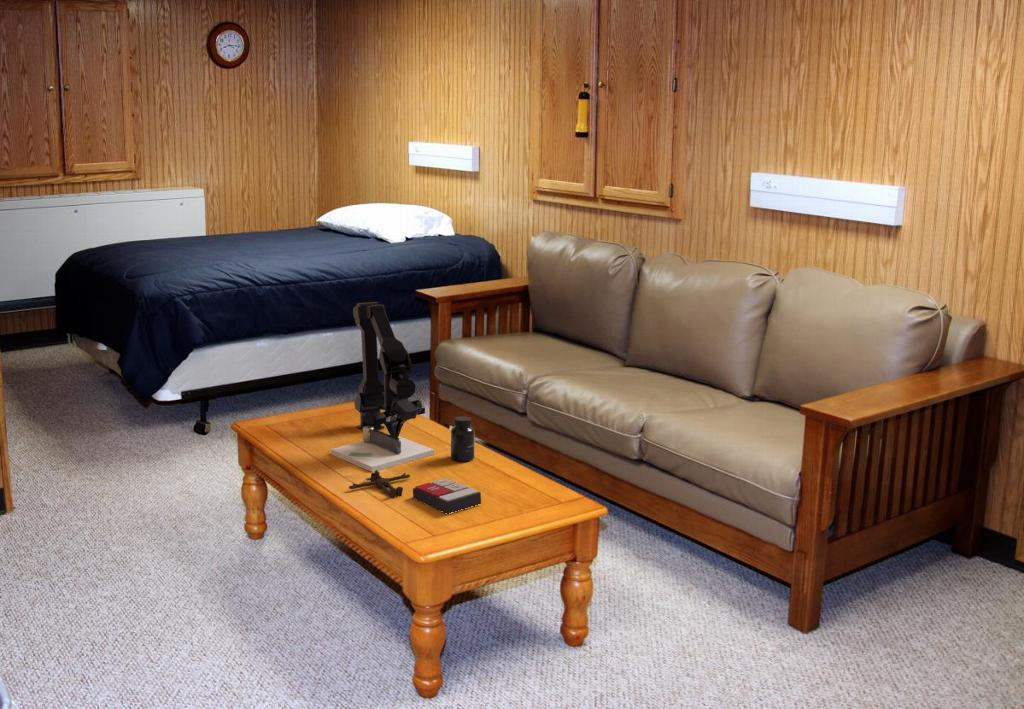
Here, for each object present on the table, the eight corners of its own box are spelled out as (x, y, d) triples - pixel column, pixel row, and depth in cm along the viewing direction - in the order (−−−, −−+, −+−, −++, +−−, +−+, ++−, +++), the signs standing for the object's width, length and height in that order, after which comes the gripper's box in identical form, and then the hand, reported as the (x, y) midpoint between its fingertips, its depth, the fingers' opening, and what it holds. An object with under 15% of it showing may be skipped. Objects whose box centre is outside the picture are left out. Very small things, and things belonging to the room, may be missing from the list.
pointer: (360, 440, 318) (360, 427, 317) (369, 438, 320) (369, 425, 319) (395, 454, 306) (395, 441, 305) (404, 452, 309) (404, 438, 308)
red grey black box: (445, 476, 286) (481, 489, 275) (446, 491, 287) (481, 505, 276) (411, 485, 279) (447, 499, 268) (412, 501, 280) (447, 516, 269)
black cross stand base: (365, 494, 274) (341, 472, 286) (365, 509, 276) (341, 486, 287) (427, 481, 284) (402, 460, 295) (427, 496, 285) (401, 474, 297)
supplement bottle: (473, 462, 306) (474, 422, 303) (449, 462, 306) (449, 422, 303) (475, 454, 313) (475, 415, 310) (451, 454, 313) (451, 414, 310)
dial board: (330, 454, 312) (330, 448, 311) (391, 438, 326) (391, 433, 326) (372, 472, 298) (372, 466, 297) (434, 454, 312) (433, 449, 312)
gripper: (385, 401, 299) (386, 455, 302) (437, 389, 311) (437, 440, 315) (361, 393, 306) (362, 445, 310) (412, 381, 319) (413, 432, 323)
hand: (394, 441), depth 314 cm, fingers closed
